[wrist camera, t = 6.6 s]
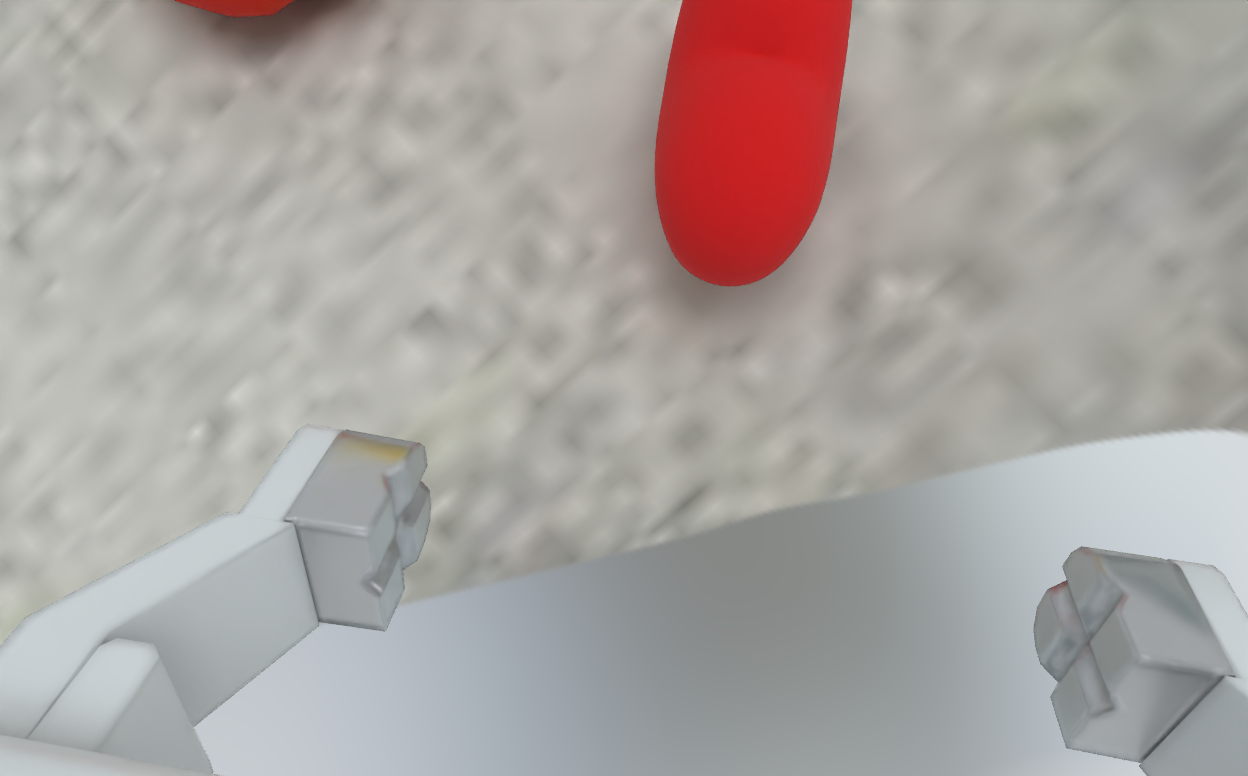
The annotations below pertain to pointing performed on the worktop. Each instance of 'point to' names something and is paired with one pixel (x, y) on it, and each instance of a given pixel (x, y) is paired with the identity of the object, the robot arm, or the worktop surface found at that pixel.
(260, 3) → the tomato
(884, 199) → the worktop surface
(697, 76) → the heart
